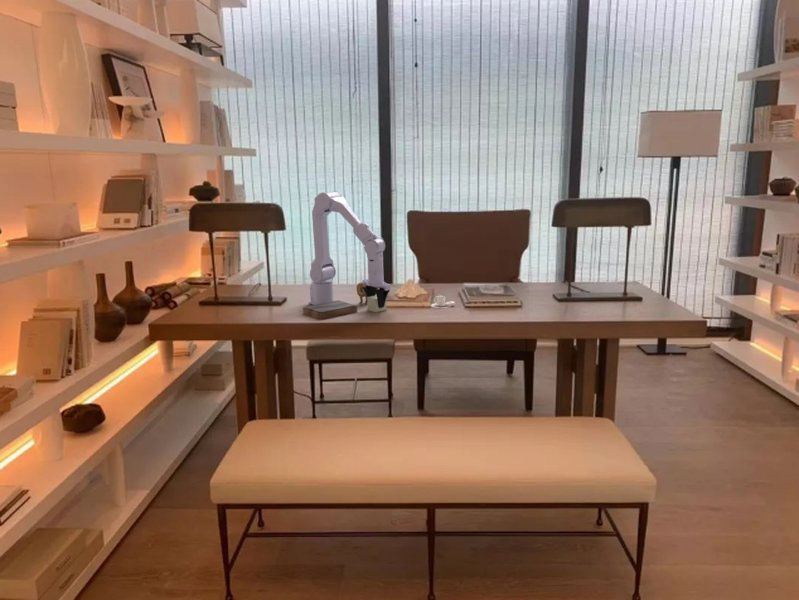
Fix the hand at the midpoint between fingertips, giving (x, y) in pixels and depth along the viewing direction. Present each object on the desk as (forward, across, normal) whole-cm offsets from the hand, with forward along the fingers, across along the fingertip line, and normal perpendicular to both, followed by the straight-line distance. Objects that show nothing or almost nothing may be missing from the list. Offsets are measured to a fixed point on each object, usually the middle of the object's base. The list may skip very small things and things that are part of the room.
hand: (376, 306), depth 237 cm
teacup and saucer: (+2, +15, +21) cm, 26 cm away
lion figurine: (+2, -12, +6) cm, 14 cm away
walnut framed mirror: (+1, -9, -15) cm, 18 cm away
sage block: (+1, 0, 0) cm, 1 cm away
